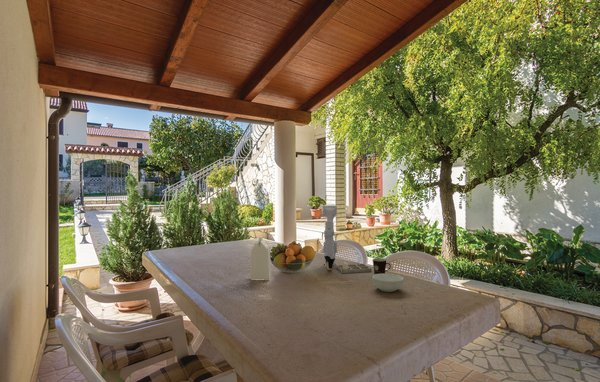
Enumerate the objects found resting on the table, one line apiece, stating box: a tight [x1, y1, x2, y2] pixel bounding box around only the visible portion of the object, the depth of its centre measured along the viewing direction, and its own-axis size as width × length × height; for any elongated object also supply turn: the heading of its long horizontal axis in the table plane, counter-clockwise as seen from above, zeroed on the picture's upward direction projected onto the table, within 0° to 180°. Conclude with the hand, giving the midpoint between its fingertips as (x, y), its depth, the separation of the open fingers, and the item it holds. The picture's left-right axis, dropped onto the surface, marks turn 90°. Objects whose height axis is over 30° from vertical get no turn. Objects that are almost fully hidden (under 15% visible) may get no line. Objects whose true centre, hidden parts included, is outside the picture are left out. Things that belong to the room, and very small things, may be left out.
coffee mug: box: [372, 257, 392, 275], centre depth 210 cm, size 12×9×10 cm
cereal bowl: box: [371, 273, 405, 293], centre depth 181 cm, size 17×17×7 cm
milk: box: [250, 235, 272, 281], centre depth 209 cm, size 12×12×26 cm
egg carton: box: [335, 263, 372, 274], centre depth 223 cm, size 14×20×3 cm
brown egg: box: [325, 262, 334, 271], centre depth 222 cm, size 4×4×6 cm
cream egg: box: [342, 261, 349, 270], centre depth 218 cm, size 4×4×6 cm
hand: (329, 267), depth 222 cm, fingers closed on brown egg, 4 cm apart
